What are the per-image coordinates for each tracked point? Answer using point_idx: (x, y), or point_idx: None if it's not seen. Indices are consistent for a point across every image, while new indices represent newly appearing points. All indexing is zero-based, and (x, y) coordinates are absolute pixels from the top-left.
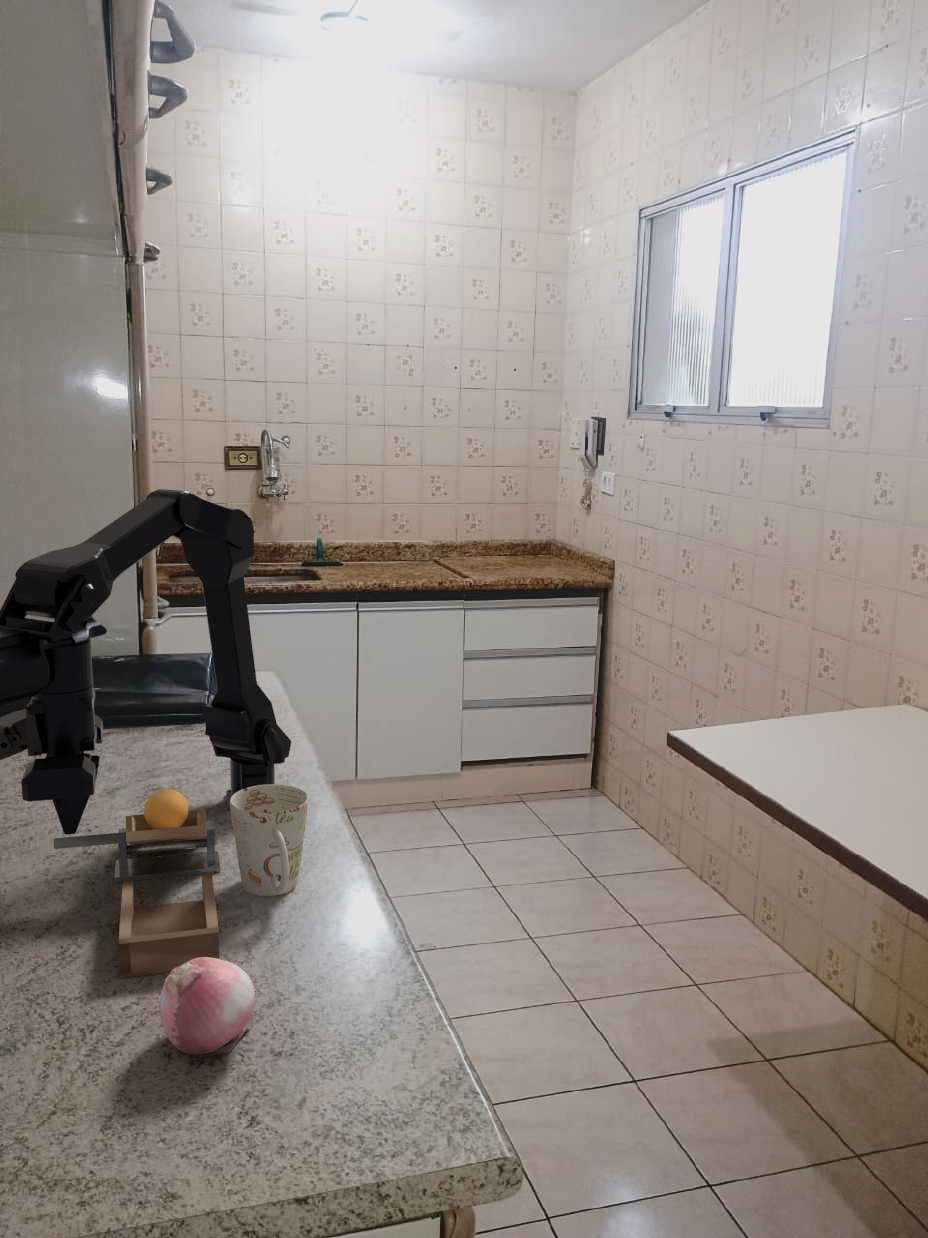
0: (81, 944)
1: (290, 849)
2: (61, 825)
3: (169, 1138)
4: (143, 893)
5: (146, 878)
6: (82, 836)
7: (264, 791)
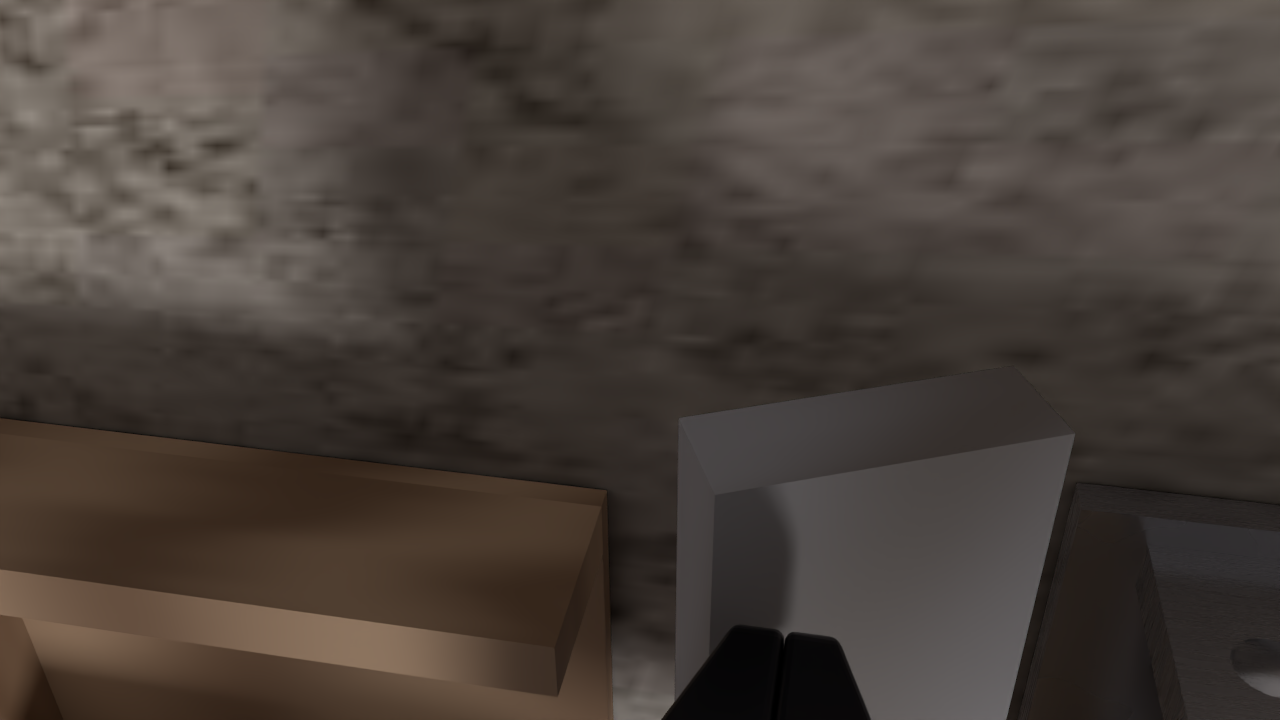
0: (245, 253)
1: None
2: (672, 710)
3: None
4: None
5: (1035, 650)
6: None
7: None
